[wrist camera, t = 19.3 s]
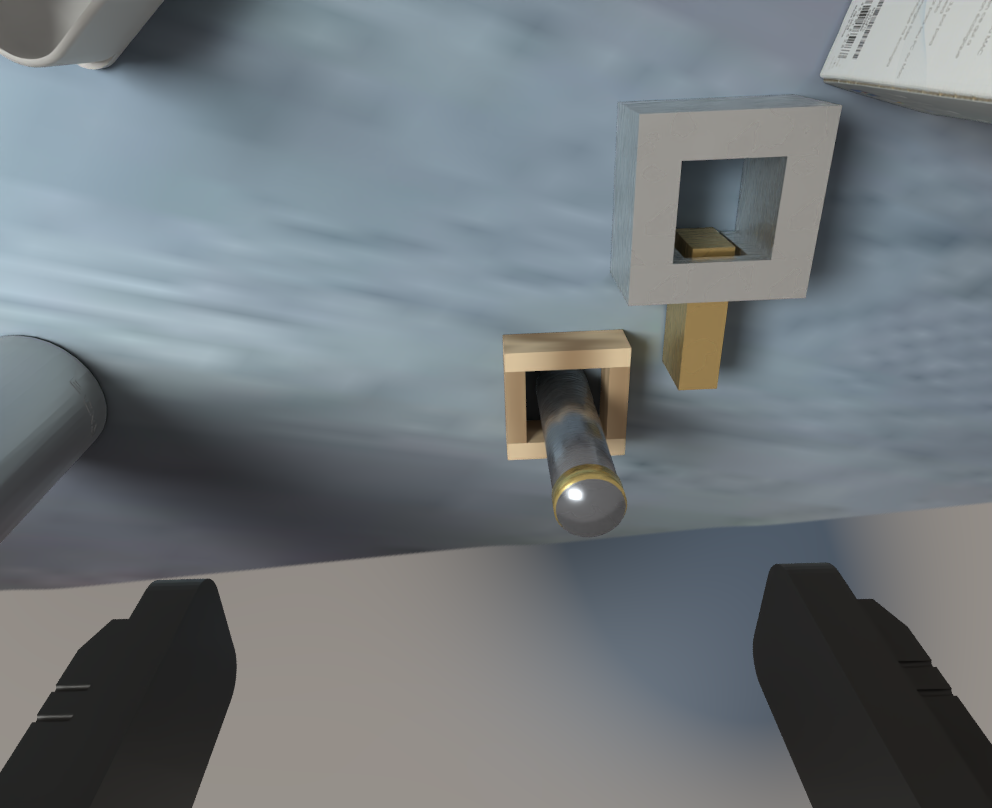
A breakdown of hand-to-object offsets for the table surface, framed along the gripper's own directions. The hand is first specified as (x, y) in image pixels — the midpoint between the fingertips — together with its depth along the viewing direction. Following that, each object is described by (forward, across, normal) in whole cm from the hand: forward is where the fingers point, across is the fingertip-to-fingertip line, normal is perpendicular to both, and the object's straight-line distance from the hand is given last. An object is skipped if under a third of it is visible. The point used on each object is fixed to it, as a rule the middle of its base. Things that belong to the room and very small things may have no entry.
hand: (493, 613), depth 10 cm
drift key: (+35, -13, +8) cm, 38 cm away
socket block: (+35, -13, +1) cm, 37 cm away
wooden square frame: (+35, -5, +14) cm, 38 cm away
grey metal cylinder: (+35, -5, +14) cm, 38 cm away
